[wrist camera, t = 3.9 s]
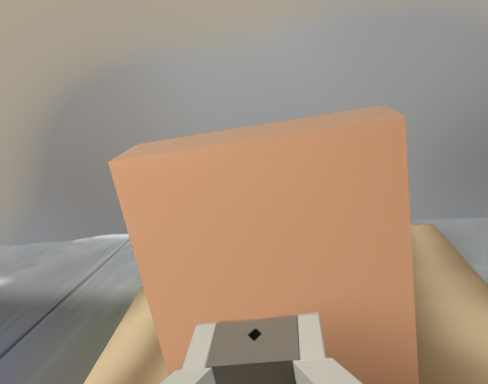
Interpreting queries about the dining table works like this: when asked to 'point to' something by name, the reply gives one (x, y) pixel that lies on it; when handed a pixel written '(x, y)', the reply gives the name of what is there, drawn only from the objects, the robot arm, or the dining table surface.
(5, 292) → the dining table surface
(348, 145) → the terracotta tile
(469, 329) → the oak board
